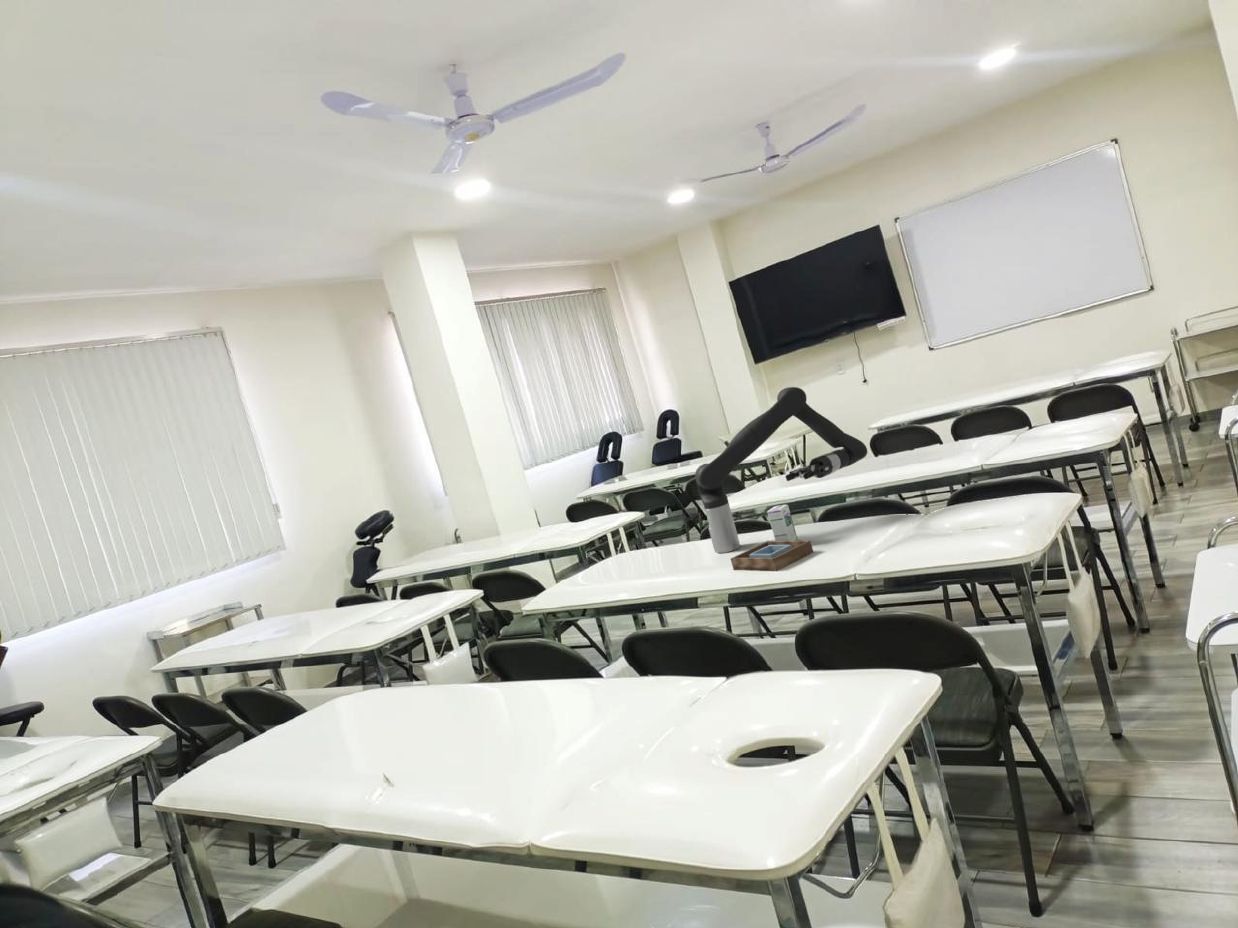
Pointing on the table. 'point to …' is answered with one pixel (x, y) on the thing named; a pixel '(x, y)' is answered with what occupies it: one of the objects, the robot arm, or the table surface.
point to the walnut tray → (772, 564)
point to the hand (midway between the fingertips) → (795, 477)
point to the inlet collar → (771, 551)
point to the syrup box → (782, 523)
